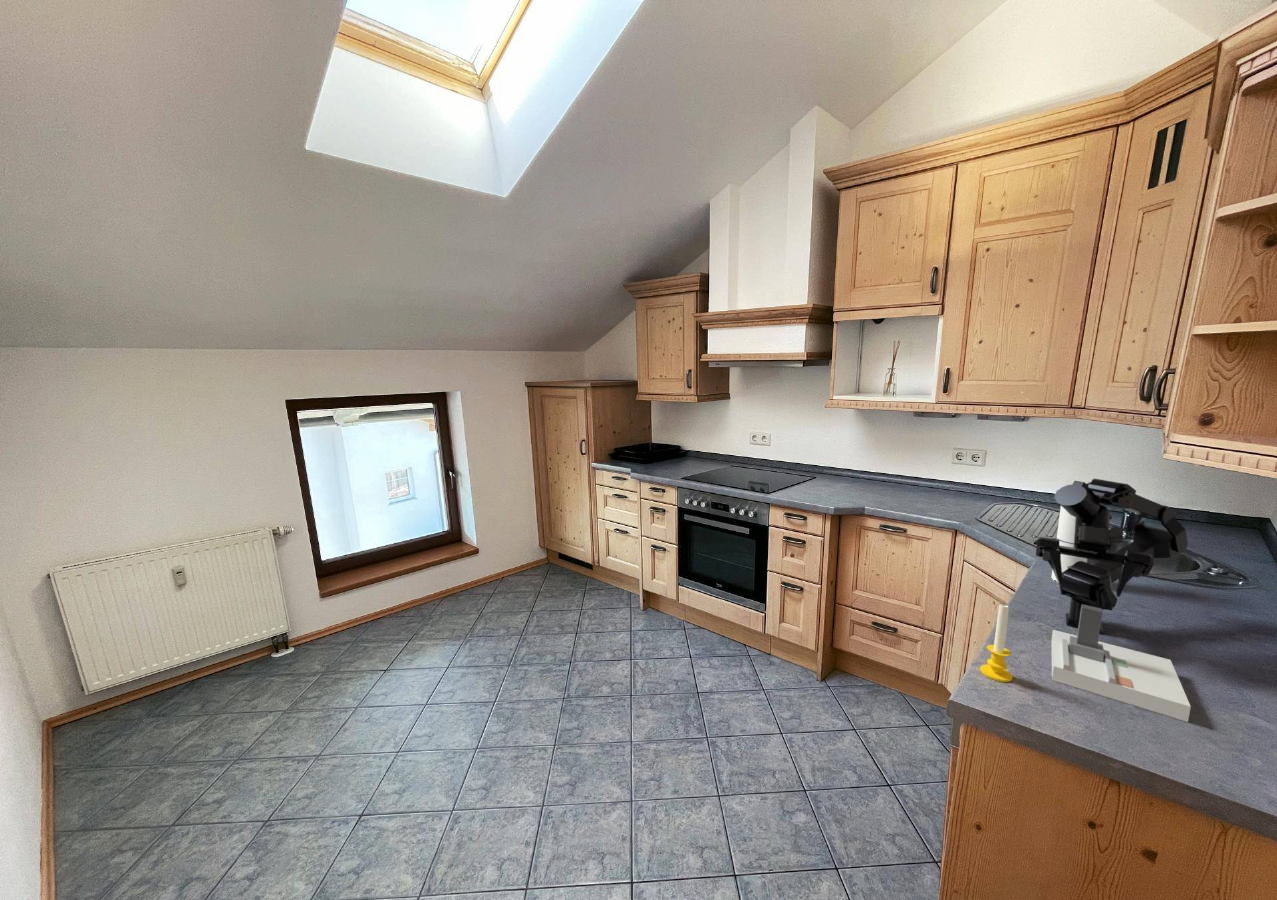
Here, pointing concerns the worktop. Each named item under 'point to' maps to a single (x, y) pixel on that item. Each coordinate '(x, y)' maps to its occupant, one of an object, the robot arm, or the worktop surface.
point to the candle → (998, 650)
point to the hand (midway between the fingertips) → (1088, 590)
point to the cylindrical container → (1066, 539)
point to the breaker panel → (1122, 677)
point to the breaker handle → (1088, 634)
